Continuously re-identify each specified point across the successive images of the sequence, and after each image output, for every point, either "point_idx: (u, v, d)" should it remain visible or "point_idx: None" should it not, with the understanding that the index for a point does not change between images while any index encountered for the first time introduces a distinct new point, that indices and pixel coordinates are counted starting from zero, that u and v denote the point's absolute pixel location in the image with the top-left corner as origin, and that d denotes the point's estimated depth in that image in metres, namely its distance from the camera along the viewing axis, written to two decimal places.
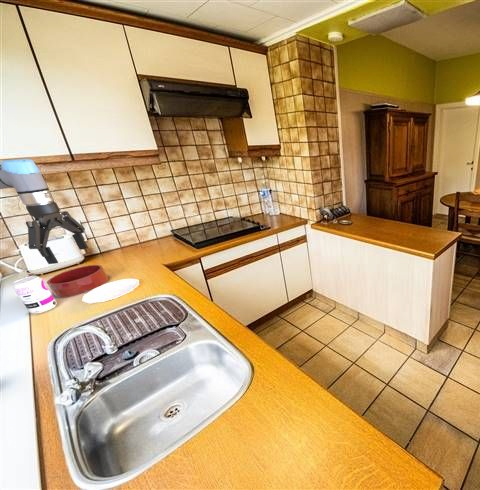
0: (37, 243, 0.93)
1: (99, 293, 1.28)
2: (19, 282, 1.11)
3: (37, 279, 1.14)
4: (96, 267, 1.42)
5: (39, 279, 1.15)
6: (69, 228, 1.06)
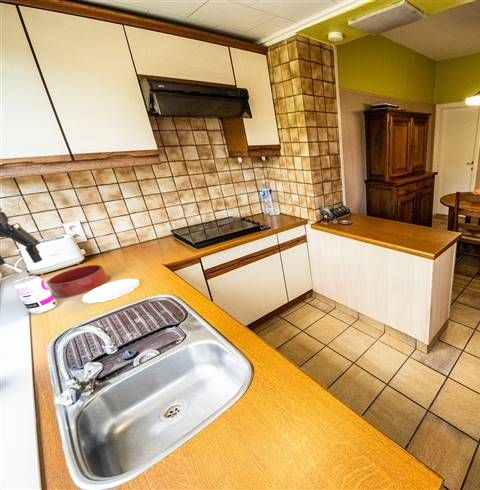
0: None
1: (99, 293, 1.28)
2: (19, 282, 1.11)
3: (37, 279, 1.14)
4: (96, 267, 1.42)
5: (39, 279, 1.15)
6: None
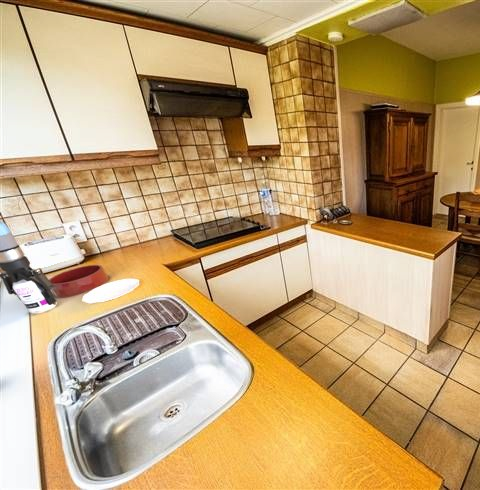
0: None
1: (99, 293, 1.28)
2: (19, 282, 1.11)
3: None
4: (96, 267, 1.42)
5: None
6: None
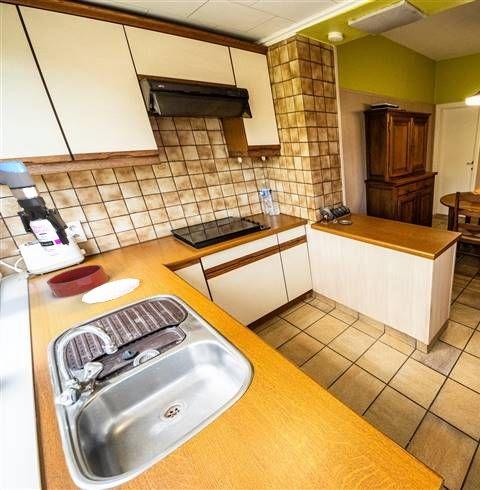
0: None
1: (99, 293, 1.28)
2: (35, 220, 1.19)
3: None
4: (96, 267, 1.42)
5: None
6: None
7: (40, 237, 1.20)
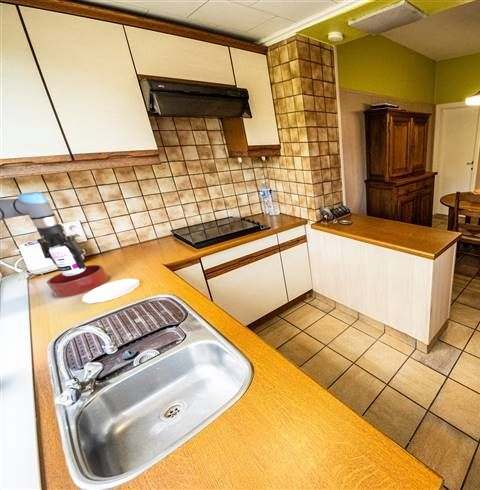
0: None
1: (99, 293, 1.28)
2: (54, 247, 1.25)
3: None
4: (96, 267, 1.42)
5: None
6: None
7: (59, 262, 1.26)
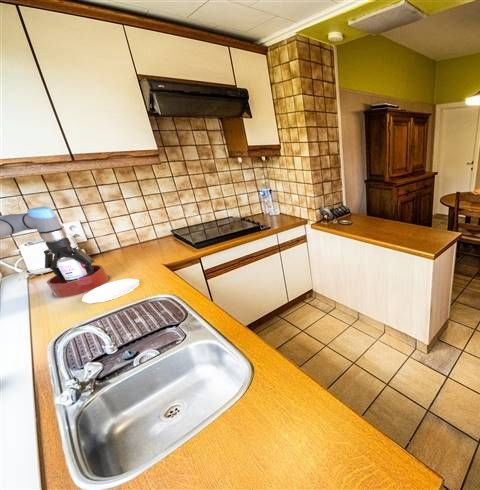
0: None
1: (99, 293, 1.28)
2: (62, 261, 1.28)
3: None
4: (96, 267, 1.42)
5: None
6: None
7: (66, 276, 1.29)
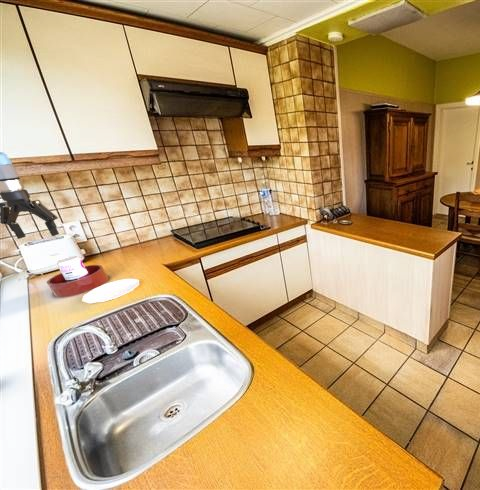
0: None
1: (99, 293, 1.28)
2: (62, 261, 1.28)
3: (77, 258, 1.31)
4: (96, 267, 1.42)
5: (78, 259, 1.32)
6: (16, 216, 1.18)
7: (66, 276, 1.29)
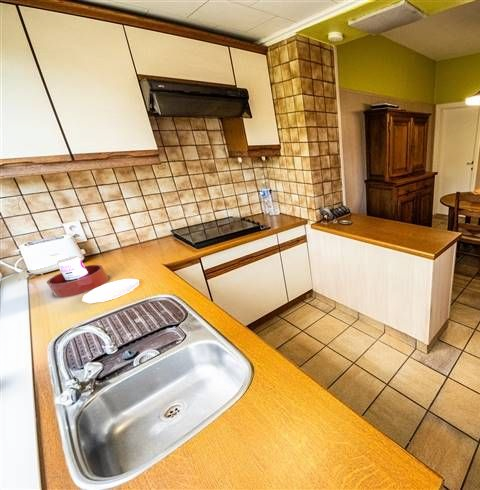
0: None
1: (99, 293, 1.28)
2: (62, 261, 1.28)
3: (77, 258, 1.31)
4: (96, 267, 1.42)
5: (78, 259, 1.32)
6: None
7: (66, 276, 1.29)
